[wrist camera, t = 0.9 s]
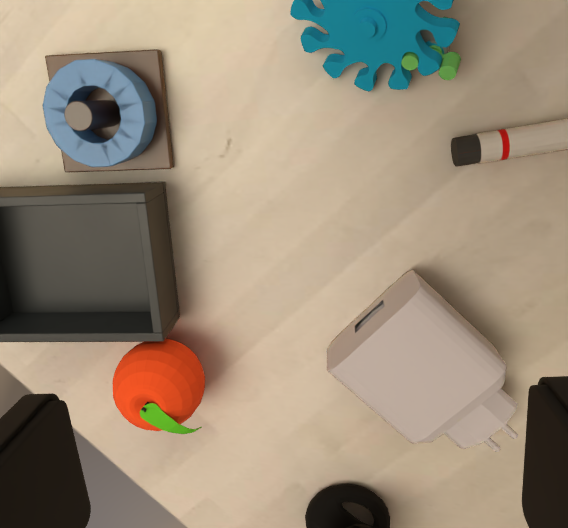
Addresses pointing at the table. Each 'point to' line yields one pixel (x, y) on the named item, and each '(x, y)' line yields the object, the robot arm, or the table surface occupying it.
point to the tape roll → (129, 96)
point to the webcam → (334, 518)
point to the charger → (424, 367)
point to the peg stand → (106, 113)
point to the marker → (510, 143)
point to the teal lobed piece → (381, 38)
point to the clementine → (159, 386)
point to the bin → (86, 264)
